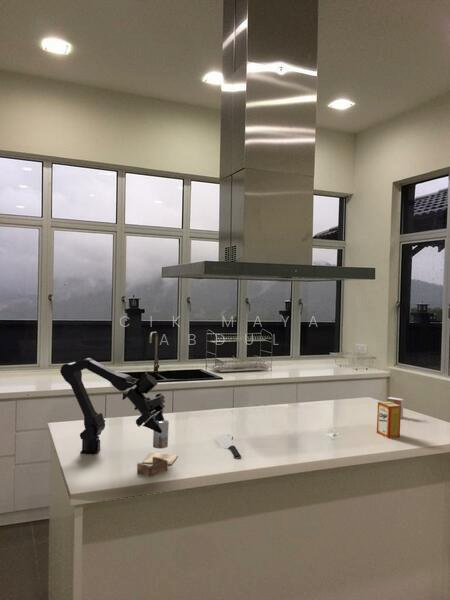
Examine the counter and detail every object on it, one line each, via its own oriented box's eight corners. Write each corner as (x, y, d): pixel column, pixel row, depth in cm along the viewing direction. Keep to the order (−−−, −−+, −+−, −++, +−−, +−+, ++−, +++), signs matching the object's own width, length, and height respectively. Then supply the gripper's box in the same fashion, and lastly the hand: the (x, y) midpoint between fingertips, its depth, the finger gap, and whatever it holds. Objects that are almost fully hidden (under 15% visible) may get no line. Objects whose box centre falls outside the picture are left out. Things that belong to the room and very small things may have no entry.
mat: (142, 463, 195) (142, 461, 195) (149, 453, 206) (149, 452, 206) (171, 465, 194) (171, 464, 194) (177, 456, 205) (177, 454, 205)
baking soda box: (399, 437, 241) (401, 405, 241) (388, 438, 239) (389, 405, 239) (387, 431, 250) (388, 400, 250) (376, 432, 248) (378, 401, 248)
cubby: (137, 472, 185) (137, 463, 185) (154, 465, 193) (154, 456, 193) (150, 477, 182) (150, 467, 181) (167, 469, 189) (167, 460, 189)
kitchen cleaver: (210, 434, 234) (231, 431, 235) (211, 438, 234) (231, 435, 235) (220, 458, 203) (244, 454, 204) (221, 462, 203) (244, 458, 205)
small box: (386, 416, 281) (386, 398, 280) (388, 414, 285) (389, 396, 285) (400, 418, 276) (401, 400, 276) (403, 416, 281) (403, 398, 280)
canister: (153, 448, 196) (154, 424, 196) (152, 443, 202) (153, 419, 202) (168, 448, 198) (169, 423, 197) (166, 443, 203) (167, 419, 203)
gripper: (144, 392, 191) (170, 424, 189) (161, 383, 209) (185, 412, 207) (124, 411, 193) (150, 442, 191) (143, 400, 211) (166, 428, 209)
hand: (164, 430), depth 199 cm, fingers closed on canister, 6 cm apart
